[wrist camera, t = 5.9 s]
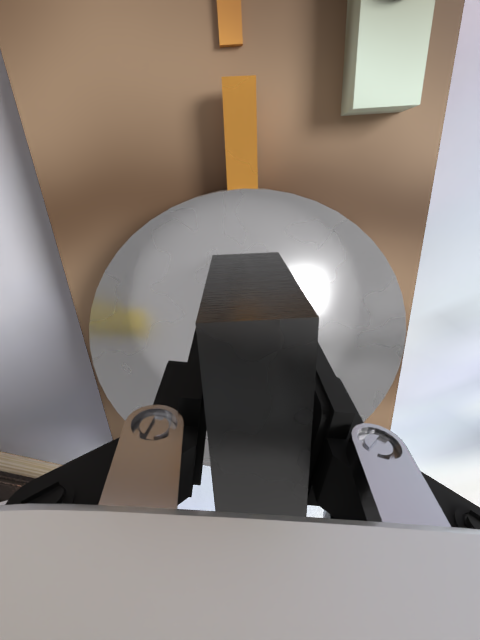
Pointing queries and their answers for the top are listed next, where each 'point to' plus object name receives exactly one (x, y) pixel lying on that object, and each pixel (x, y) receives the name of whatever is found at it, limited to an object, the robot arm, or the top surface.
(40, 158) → the levelling base
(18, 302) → the top surface
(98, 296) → the cam dial
